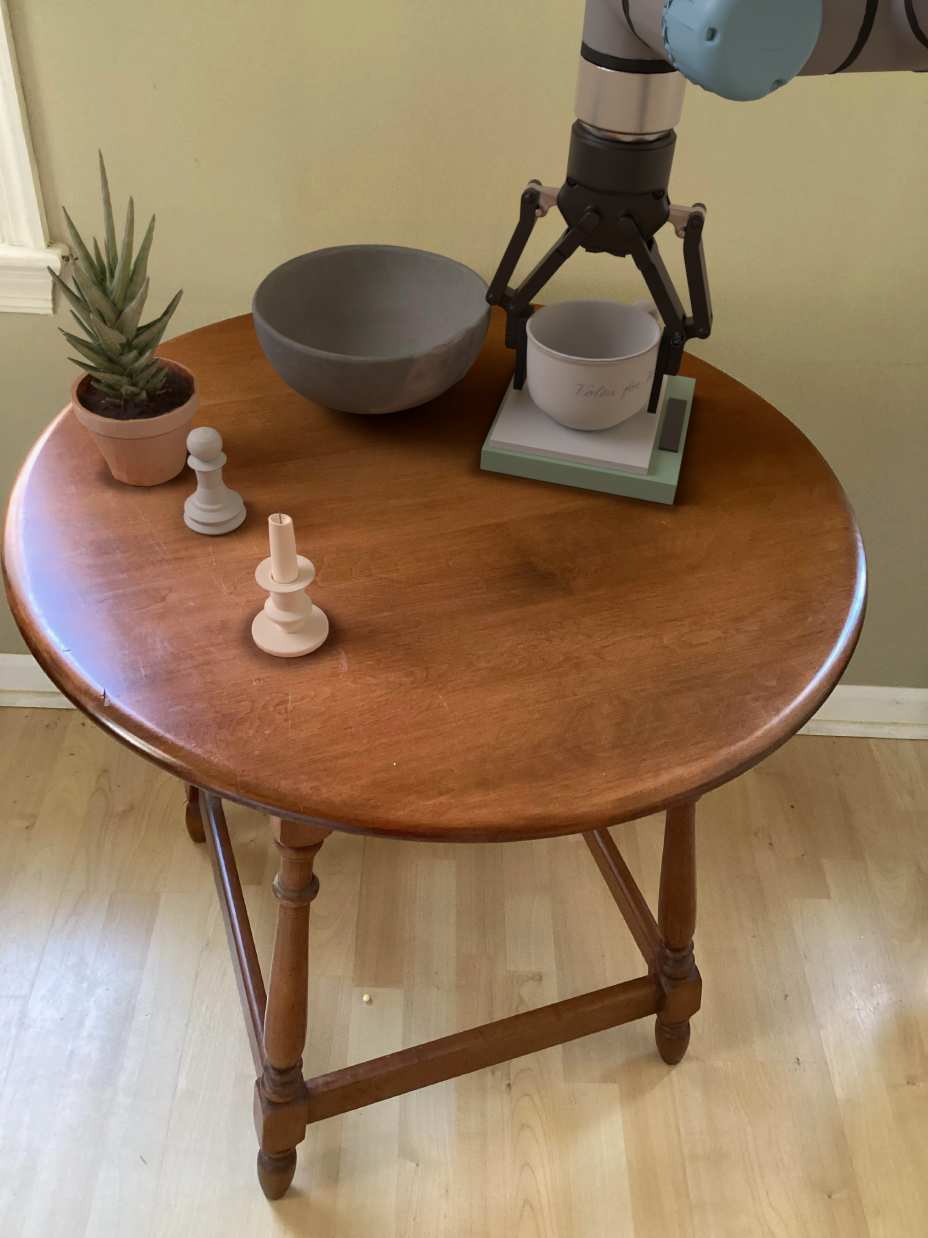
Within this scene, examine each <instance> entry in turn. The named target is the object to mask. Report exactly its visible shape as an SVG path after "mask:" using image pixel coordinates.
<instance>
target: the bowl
mask: <svg viewBox="0 0 928 1238" xmlns="http://www.w3.org/2000/svg"><path fill="white" fill-rule="evenodd" d="M489 287H490V285H489V284H488V283H487V281H486V280H485V278H483V277H482V275H480V274H479V273H478V272H477V271H475V270H473V269H472V268H471V267H469V266H468V265H466V264H465V263H462V262H459V261H458V260H455V259H452V258H451V257H447V256H445V255H442V254H439V253H435V252H432V251H428V250H423V249H420V248H413V247H410V246H409V247H408V246H401V245H393V244H381V243H379V244H376V243H373V244H372V243H366V244H365V243H364V244H363V243H361V244H344V245H336V246H335V245H334V246H329V247H323V248H320V249H316V250H313V251H310V252H306V253H303V254H301V255H298V256H295V257H293V258H291V259H289V260H287V261H285V262H283V263H281V264H280V265H278V266H277V267H275V268H273V270H271V271H269V273H268V274H267V275H266V276H265V277H264V278H263V280H261V282H260V283H259V284H258V286H257V288H256V290H254V294H253V297H252V301H251V313H252V319H253V324H254V329H255V332H256V335H257V336H256V337H257V339H258V341H259V344H260V346H261V349H262V351H263V353H264V356H265V357H266V359H267V360H268V363H269V364H270V365H271V367H272V368H273V370H274V371H275V372H276V374H277V375H278V376H279V378H280V379H282V381H283V382H284V383H285V384H286V385H287V386H289V387H290V388H291V389H292V390H293V391H295V392H296V393H297V394H300V395H301V396H302V397H304V398H306V399H308V400H310V401H312V402H315V403H316V404H319V405H322V406H324V407H326V408H330V409H332V410H336V411H340V412H345V413H350V414H360V415H382V414H391V413H396V412H401V411H406V410H409V409H412V408H416V407H419V406H421V405H423V404H427V403H428V402H430V401H432V400H434V399H436V398H437V397H439V396H440V395H442V394H443V393H445V392H446V391H447V390H448V389H450V388H451V387H452V386H454V385H455V384H456V383H457V382H459V381H460V380H461V379H462V378H464V377H465V376H466V374H467V373H468V371H469V370H470V369H471V367H472V366H473V364H474V363H475V361H476V360H477V358H478V356H479V354H480V353H481V351H482V350H483V346H484V344H485V341H486V339H487V336H488V333H489V329H490V324H491V321H492V320H491V319H492V313H493V306H492V305H489V304H488V303H487V302H486V299H485V296H486V294H487V291H488V289H489Z"/></svg>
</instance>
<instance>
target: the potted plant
mask: <svg viewBox="0 0 928 1238" xmlns="http://www.w3.org/2000/svg"><path fill="white" fill-rule="evenodd" d="M98 163H99V165H98V166H99V174H100V186H101V187H100V189H101V201H102V211H103V223H104V231H105V232H104V233H105V236H104V237H103V243H104V244H103V245H104V259H105V261H104V259H103V256H102V253H101V252H102V251H101V249H100V247H99V244H98V240H97V238H96V235H92V237H91V238H92V246H93V257H92V254H91V253H90V252H89V250H88V247H87V246H86V244H85V243H84V241H83V239H82V238H81V235H80V233H79V231H78V229H77V228H76V225H75V224H74V222H73V220H72V219H71V217H70V215H69V213H68V211H67V210H66V208H65V206H64V205H61V209H62V213H63V219H64V223H65V226H66V229H67V232H68V234H69V237H70V239H71V242H72V245H73V248H74V250H75V253H76V256H77V259H78V261H79V263H80V265H81V267H80V266H79V264H78V263H77V261H76V260H75V259H74V258H73V255H71V254H68V255H67V257H68V259H69V264H70V269H71V271H72V274H73V275H72V274H70V278H71V281H72V284H73V287H74V289H75V292H76V293H75V292H74V291H73V290H72V289H71V288H70V287H69V286H68V285H67V284H66V283H65V282H64V280H62V278H60V276H59V275H58V274H57V273H56V272H55V271H54V270H53V269H52V268H51V266H50V265H47V266H46V269H47V271H48V273H49V275H50V276H51V278H52V280H53V281H54V282H55V284H56V286H57V287H58V289H59V290H60V291H61V293H62V294H63V296H64V297H65V298H66V300H67V301H68V302H69V304H70V305H71V307H73V309H74V310H75V311H76V313H77V314H78V315H79V316H80V317H79V316H78V315H77V314H76V313H75V312H74V311H73V310H72V309H69V310H68V311H69V313H70V314H71V316H72V318H73V320H74V321H75V322H76V324H77V325H78V326H79V327H80V328H81V330H82V331H83V332H84V333H85V335H86V336H87V337H88V338H89V339H90V341H89V340H86V339H83V338H81V337H79V336H76V335H75V334H72V333H70V332H68V331H66V330H64V329H63V328H61V327H60V326H58V327H57V330H58V331H59V332H60V333H61V335H63V337H65V341H66V342H67V343H68V344H69V345H71V347H72V348H74V349H75V350H76V351H77V352H78V353H79V354H80V355H82V357H84V358H85V359H86V360H88V361H89V362H90V363H92V364H93V365H91V364H89V363H87V362H84V361H80V360H78V359H75V358H72V357H70V356H67V357H66V359H67V360H69V361H71V362H72V363H74V364H75V365H77V366H78V367H80V368H81V369H83V371H84V372H82V373H81V374H79V375H78V376H76V378H75V380H73V382H72V385H71V388H70V391H69V392H70V400H71V404H72V408H73V412H74V415H75V416H76V419H78V421H79V423H80V424H81V425H83V426H84V427H86V428H87V429H88V431H89V433H90V435H91V437H92V439H93V441H94V442H95V444H96V446H97V447H98V449H99V450H100V452H101V454H102V456H103V458H104V460H105V462H106V464H107V465H108V467H109V470H110V472H111V474H112V476H113V477H114V479H115V480H117V481H120V482H121V483H124V484H125V485H129V486H137V487H138V486H139V487H151V486H157V485H160V484H163V483H166V482H168V481H171V480H172V479H174V478H175V477H176V476H178V475H179V474H180V473H181V472H182V470H183V469H184V466H185V464H186V462H187V461H186V460H187V452H188V448H187V438H188V435H189V434H190V432H191V431H192V430H191V429H192V426H193V425H192V424H193V418H194V416H195V415H196V413H197V411H198V409H199V407H200V387H199V385H200V384H199V380H198V379H199V378H198V377H197V376H196V375H195V373H194V372H193V371H192V369H190V368H188V367H187V366H185V365H184V364H182V363H180V362H178V361H175V360H172V359H169V358H164V357H162V356H161V357H160V356H155V353H156V350H157V348H158V346H159V344H160V342H161V340H162V338H163V336H164V334H165V331H166V329H167V326H168V324H169V321H170V320H171V318H172V316H173V315H174V313H175V311H176V310H177V307H178V306H179V303H180V302H181V299H182V297H183V294H184V289H183V287H181V289H179V291H178V292H177V293H176V294H175V295H174V297H173V298H172V300H171V301H170V303H168V305H166V308H165V309H164V311H163V312H162V314H161V315H160V316H159V317H158V318H156V319H153V320H152V321H150V322H148V323H146V324H143V325H140V326H139V323H140V320H141V317H142V313H143V310H144V307H145V303H146V301H147V298H148V295H149V287H150V276H149V275H147V273H148V272H147V271H148V263H149V262H148V261H149V256H150V251H151V247H152V243H153V240H154V231H155V229H156V228H155V224H156V212H154V213H153V214H152V216H151V218H150V221H149V223H148V227H147V229H146V232H145V234H144V237H143V240H142V242H141V244H140V248H139V250H138V253H137V255H136V257H135V260H134V262H133V264H132V261H133V253H134V252H133V251H134V237H135V203H134V197H133V196H132V195H130V196H129V200H128V203H127V209H126V216H125V220H124V225H123V230H122V236H121V241H120V247H119V252H118V248H117V247H118V246H117V238H116V237H117V236H116V229H115V228H116V227H115V221H114V216H113V215H114V214H113V206H112V202H111V192H110V189H109V180H108V177H107V171H106V167H105V163H104V156H103V153H102V150H101V148H98Z"/></svg>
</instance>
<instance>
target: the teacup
mask: <svg viewBox="0 0 928 1238" xmlns="http://www.w3.org/2000/svg"><path fill="white" fill-rule="evenodd" d="M659 320H660V313H659V311H658V308H657V306H656V304H655V302H654V301H652V300H650V299H646V298H640V299H638V300H636V301H635V302H633V303H632V304H629V303H626V302H623V301H618V300H613V299H607V298H597V297H585V298H584V297H582V298H581V297H579V298H578V297H577V298H570V299H564V300H559V301H555V302H551V303H547V304H546V305H544V306H542V307H540V308H538V309H537V310H534V313H533V314H532V315H531V316H530V318H529V319H528V321H527V325H526V332H527V336H528V342H527V382H528V388H529V392H530V395H531V397H532V399H533V401H534V402H535V404H536V405H537V406H538V407H539V408H540V409H541V410H542V411H543V412H545V413H546V414H547V415H549V416H550V417H551V418H552V419H554V420H555V421H557V422H558V423H560V424H562V425H565V426H567V427H570V428H574V429H579V430H600V429H605V428H609V427H612V426H615V425H617V424H619V423H620V422H622V421H623V420H626V419H627V418H629V417H631V416H633V415H634V414H635V413H637V412H638V411H639V410H640V409H641V408H642V407H643V405H644V404H645V403H646V401H647V399H648V397H649V395H650V391H651V388H652V384H653V379H654V373H655V367H656V362H657V357H658V352H659V345H660V342H661V337H662V333H663V331H662V326H661V324H660V323H659Z"/></svg>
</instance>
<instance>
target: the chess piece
mask: <svg viewBox="0 0 928 1238" xmlns="http://www.w3.org/2000/svg"><path fill="white" fill-rule="evenodd" d="M222 449H223V438H222V436H221V435H220V433H219V432H218V431H217V430H216V429H214V428H213V427H209V426H200V427H196V428H194V429H192V430H190V434H189V435H188V438H187V451H188V452H189V454H190V455H189V456H188V458H187V461H186V462H187V465H188V467H190V468H191V469H192V470H194V471H195V476H196V479H197V486H196V490H195V492H193V493H192V494H190V495H189V496H188V497H187V499H186V500H185V501H184V504H183V509H184V513H183V520H184V523H185V524H186V526H187V527H188V528H189V529H191V530H192V531H194V532H196V533H198V534H201V535H206V536H218V535H225V534H228V533H230V532H232V531H235V530H236V529H237V528H239V527H240V526H241V524H242V523H243V522H244V521H245V519H246V517H247V509H246V506H245V505H244V500H243V497H242V496H241V494H239V493H238V492H237V491H235V490H233V489H230V488H228V487H227V486H226V484H225V481H223V472H222V471H223V470H222V467H223V466H224V465H225V464H226V463H227V456H226V454H225V453H224V452H223V451H222Z"/></svg>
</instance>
